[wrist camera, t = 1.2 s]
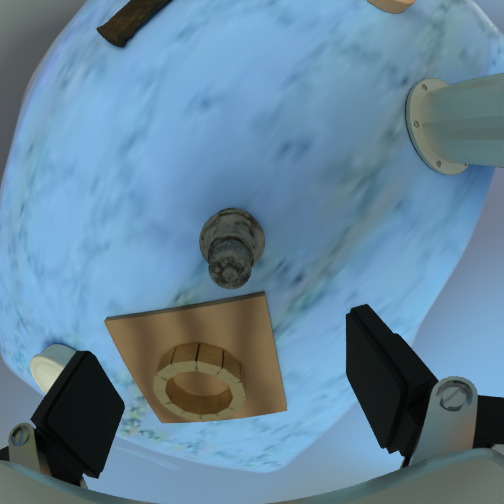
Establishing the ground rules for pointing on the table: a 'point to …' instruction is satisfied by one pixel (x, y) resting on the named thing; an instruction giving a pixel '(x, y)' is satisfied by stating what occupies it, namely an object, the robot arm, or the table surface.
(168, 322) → the wooden board
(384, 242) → the table surface
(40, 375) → the ramekin
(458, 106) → the robot arm
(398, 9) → the pepper shaker
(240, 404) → the wooden ring
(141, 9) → the brown long rounded piece
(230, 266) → the stone chess piece
